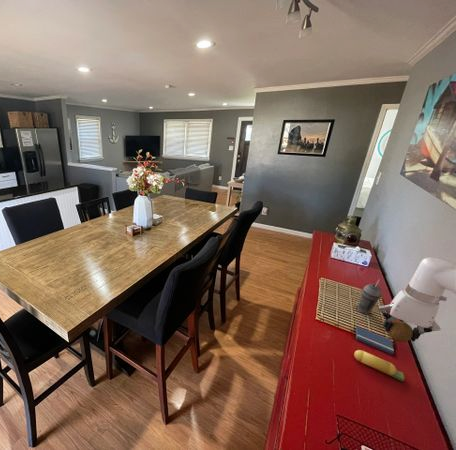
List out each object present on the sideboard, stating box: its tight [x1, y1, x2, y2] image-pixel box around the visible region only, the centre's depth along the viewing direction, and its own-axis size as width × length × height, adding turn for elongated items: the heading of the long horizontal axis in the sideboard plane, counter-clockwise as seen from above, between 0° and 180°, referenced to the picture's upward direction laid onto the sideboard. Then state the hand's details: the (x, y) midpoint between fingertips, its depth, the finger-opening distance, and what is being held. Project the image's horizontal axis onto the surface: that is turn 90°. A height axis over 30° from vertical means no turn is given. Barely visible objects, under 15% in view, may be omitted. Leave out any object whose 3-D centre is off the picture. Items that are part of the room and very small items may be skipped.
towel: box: [355, 326, 395, 356], centre depth 104 cm, size 12×8×2 cm, turn 52°
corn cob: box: [353, 349, 405, 382], centre depth 92 cm, size 15×4×4 cm, turn 52°
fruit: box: [387, 320, 413, 343], centre depth 86 cm, size 6×6×8 cm
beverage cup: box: [357, 278, 383, 315], centre depth 117 cm, size 7×7×20 cm
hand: (398, 333), depth 86 cm, fingers closed on fruit, 6 cm apart
